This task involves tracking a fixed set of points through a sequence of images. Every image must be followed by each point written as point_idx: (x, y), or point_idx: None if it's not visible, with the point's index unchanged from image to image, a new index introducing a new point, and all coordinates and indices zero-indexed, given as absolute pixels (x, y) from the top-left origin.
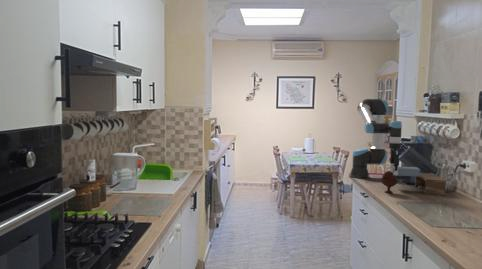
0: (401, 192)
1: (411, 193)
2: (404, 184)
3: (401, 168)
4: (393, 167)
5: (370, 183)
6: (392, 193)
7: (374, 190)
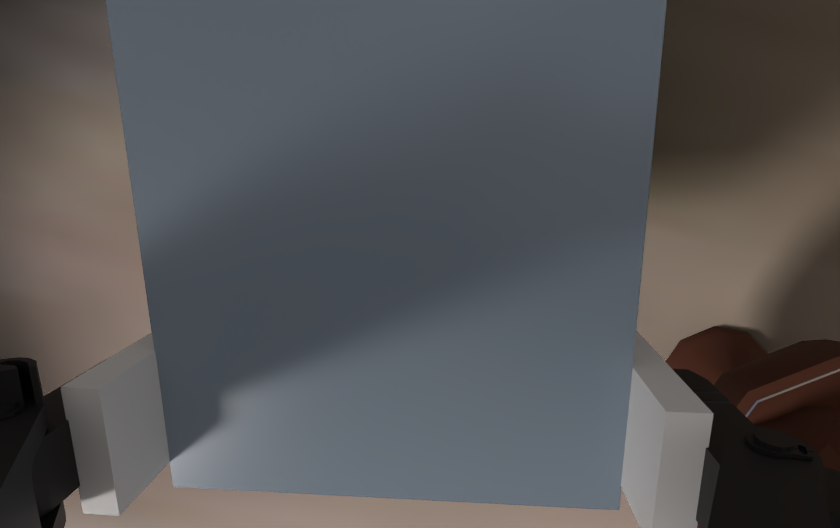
0: (670, 203)
1: (722, 70)
2: (64, 20)
3: (638, 246)
4: (447, 452)
5: (170, 473)
6: (753, 339)
7: (596, 510)
